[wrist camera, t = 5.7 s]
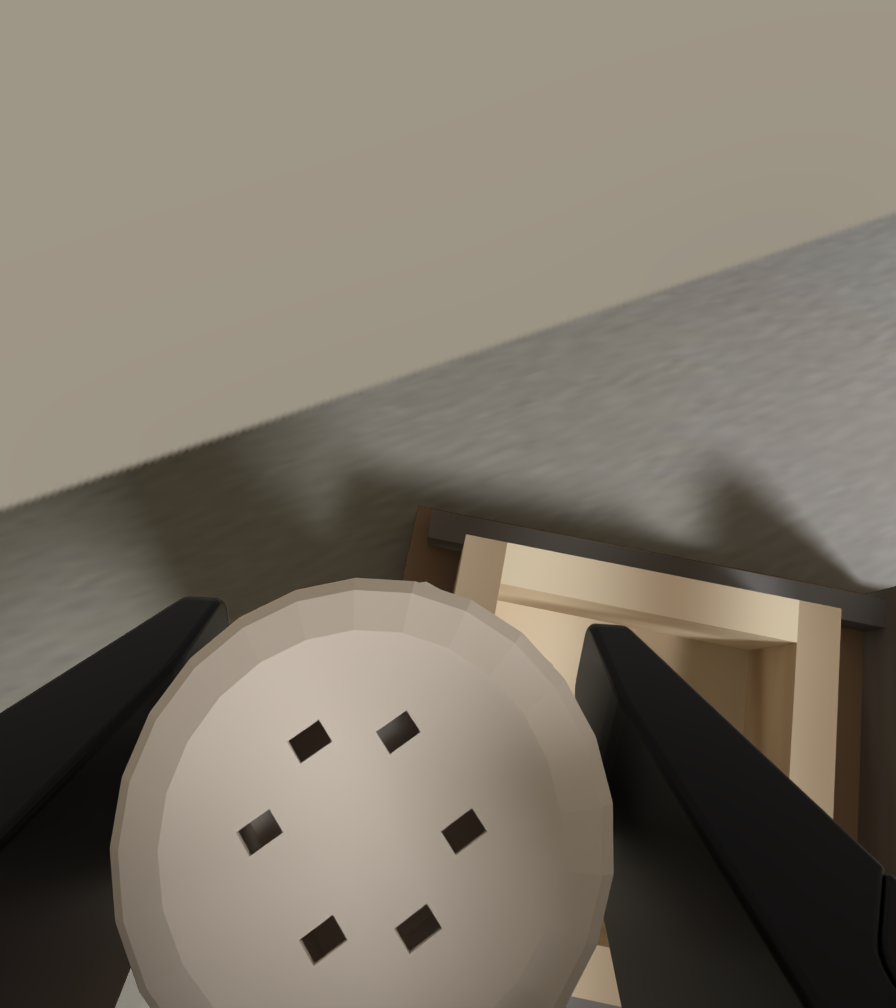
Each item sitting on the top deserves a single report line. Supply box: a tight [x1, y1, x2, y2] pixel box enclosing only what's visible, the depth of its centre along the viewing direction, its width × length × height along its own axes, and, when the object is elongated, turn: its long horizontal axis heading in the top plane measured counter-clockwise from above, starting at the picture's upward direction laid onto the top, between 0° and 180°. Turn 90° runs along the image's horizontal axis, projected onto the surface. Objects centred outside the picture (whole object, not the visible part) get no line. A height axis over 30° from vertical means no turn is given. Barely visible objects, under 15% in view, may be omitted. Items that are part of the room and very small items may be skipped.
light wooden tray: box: [453, 534, 841, 1007], centre depth 17 cm, size 9×9×4 cm
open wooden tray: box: [402, 506, 896, 1008], centre depth 17 cm, size 16×16×6 cm
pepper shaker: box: [110, 578, 614, 1008], centre depth 9 cm, size 5×5×11 cm
